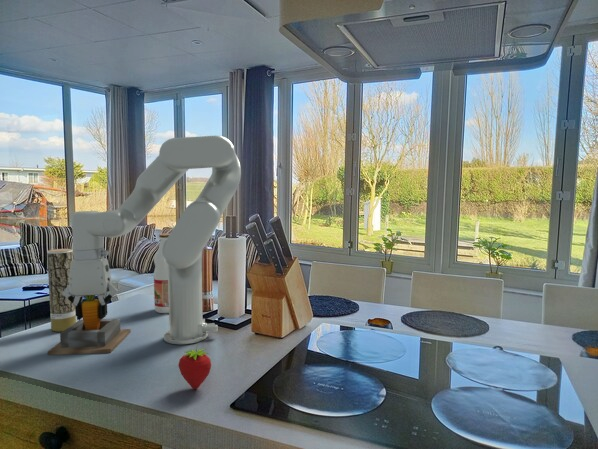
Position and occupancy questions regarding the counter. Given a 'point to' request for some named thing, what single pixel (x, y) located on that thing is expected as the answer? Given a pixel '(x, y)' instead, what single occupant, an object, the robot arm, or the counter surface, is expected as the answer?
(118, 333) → the docking stand
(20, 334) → the counter surface
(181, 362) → the strawberry
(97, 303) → the carrot
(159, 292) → the fruit juice
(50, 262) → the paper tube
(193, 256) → the robot arm
